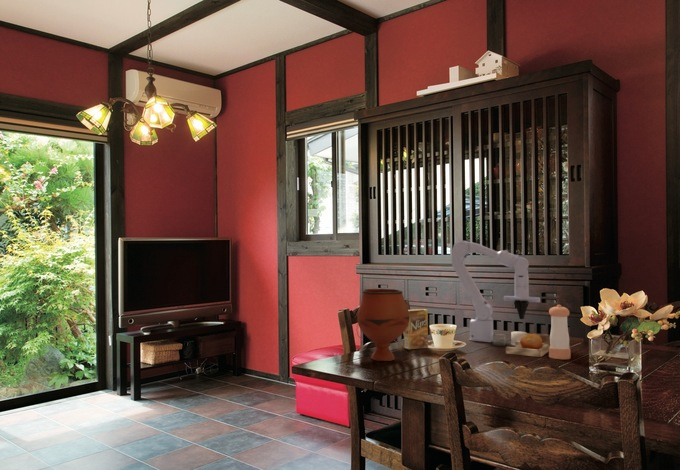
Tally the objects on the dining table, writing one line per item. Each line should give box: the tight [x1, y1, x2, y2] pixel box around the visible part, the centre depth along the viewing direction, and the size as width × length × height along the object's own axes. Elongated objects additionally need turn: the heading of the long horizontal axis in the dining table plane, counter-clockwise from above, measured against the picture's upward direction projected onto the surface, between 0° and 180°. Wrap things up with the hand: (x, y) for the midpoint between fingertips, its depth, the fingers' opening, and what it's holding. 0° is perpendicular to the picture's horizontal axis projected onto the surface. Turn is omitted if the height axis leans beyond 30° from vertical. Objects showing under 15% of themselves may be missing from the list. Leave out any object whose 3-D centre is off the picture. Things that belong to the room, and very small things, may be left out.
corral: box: [505, 341, 550, 358], centre depth 208 cm, size 13×14×2 cm
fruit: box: [520, 333, 542, 350], centre depth 208 cm, size 8×8×8 cm
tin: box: [492, 333, 506, 347], centre depth 223 cm, size 5×5×4 cm
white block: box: [510, 330, 528, 347], centre depth 223 cm, size 6×6×5 cm
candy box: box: [403, 308, 429, 350], centre depth 217 cm, size 9×4×15 cm, turn 113°
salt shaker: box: [548, 304, 572, 360], centre depth 199 cm, size 7×7×19 cm
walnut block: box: [536, 333, 550, 345], centre depth 217 cm, size 5×5×5 cm
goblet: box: [356, 288, 409, 362], centre depth 198 cm, size 19×19×25 cm
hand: (521, 318), depth 227 cm, fingers closed
